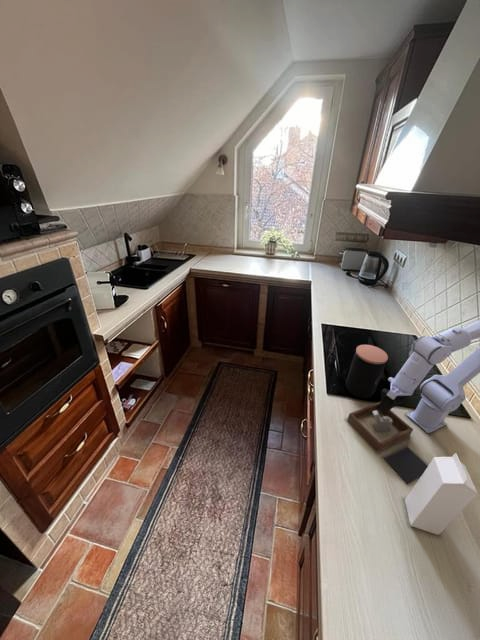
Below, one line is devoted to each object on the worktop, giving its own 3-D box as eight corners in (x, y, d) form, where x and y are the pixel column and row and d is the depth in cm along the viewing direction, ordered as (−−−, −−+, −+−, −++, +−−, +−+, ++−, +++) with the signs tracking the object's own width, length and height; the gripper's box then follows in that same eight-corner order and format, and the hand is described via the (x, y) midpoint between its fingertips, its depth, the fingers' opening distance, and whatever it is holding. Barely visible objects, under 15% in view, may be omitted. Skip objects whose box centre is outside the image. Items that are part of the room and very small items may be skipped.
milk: (410, 526, 61) (449, 474, 50) (404, 499, 66) (439, 447, 55) (439, 535, 60) (486, 485, 49) (431, 508, 65) (472, 456, 54)
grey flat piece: (386, 425, 86) (393, 409, 82) (388, 430, 84) (396, 413, 80) (365, 426, 86) (372, 409, 82) (368, 430, 84) (375, 414, 80)
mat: (407, 447, 79) (407, 446, 79) (431, 470, 73) (431, 469, 73) (384, 459, 76) (384, 458, 76) (407, 484, 70) (407, 483, 69)
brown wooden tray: (377, 407, 93) (380, 401, 91) (409, 436, 83) (413, 429, 81) (346, 420, 88) (349, 413, 86) (376, 452, 78) (380, 445, 76)
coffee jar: (375, 402, 95) (390, 365, 86) (345, 395, 98) (356, 358, 89) (372, 383, 104) (385, 347, 95) (344, 377, 106) (355, 342, 97)
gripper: (405, 361, 80) (383, 393, 86) (388, 371, 71) (364, 405, 77) (429, 376, 76) (404, 408, 82) (413, 388, 67) (386, 423, 72)
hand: (386, 408), depth 79 cm, fingers open, 7 cm apart
